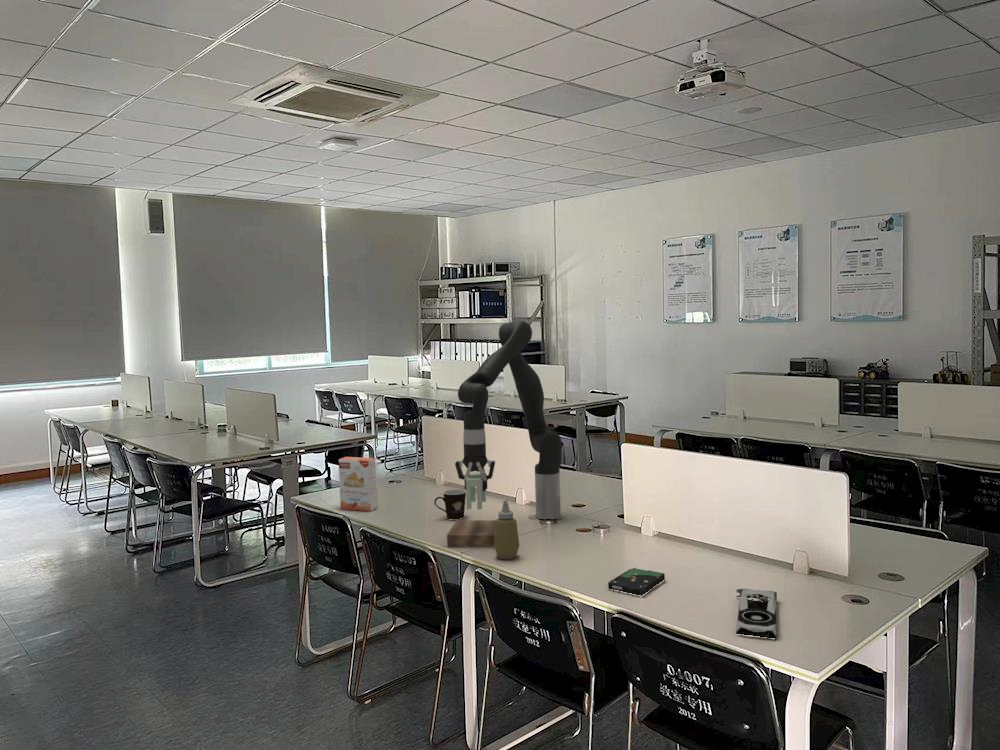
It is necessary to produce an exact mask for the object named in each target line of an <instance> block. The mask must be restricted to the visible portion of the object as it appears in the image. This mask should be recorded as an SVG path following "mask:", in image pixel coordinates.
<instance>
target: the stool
mask: <svg viewBox="0 0 1000 750" xmlns="http://www.w3.org/2000/svg"><path fill="white" fill-rule="evenodd" d="M465 491H466V497H465V502H466V510H472V503H474V502H475V503H476V505H477V506H476V507H477V508H476V509H477V510H482V509H483V503H485V502H486V501H487V493H486V491H483V477H482V476H481V474H480V472H477V471H473V472H470V475H469V477H467V479H466V490H465Z"/></svg>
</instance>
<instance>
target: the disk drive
mask: <svg viewBox="0 0 1000 750" xmlns="http://www.w3.org/2000/svg"><path fill="white" fill-rule="evenodd" d="M665 576H666V574H665V573H663V572H658V571H655V570H654V571H653V570H648V569H647V570H646V569H640V568H637V567H633V568H630V569H629V568H628V569H627V570H626V571H624V572H622V573H621V574H620V575H618V576H616V577H614V578H613V579H611V580H609V582H608V584H607V586H608V588H609V589H613V590H614V589H615V590H619V591H623V592H627V593H632V594H636V595H641V596H642V595H643V594H645V593H646V592H648V591H649V590H650V589H652V588H653V587H654V586H656V585H657V584H659V583H660V582H662V581H663V580H666V579H665V578H666V577H665ZM648 593H649V592H648Z"/></svg>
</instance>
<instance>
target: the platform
mask: <svg viewBox="0 0 1000 750" xmlns="http://www.w3.org/2000/svg"><path fill="white" fill-rule="evenodd" d="M496 520H497V519H496ZM496 520H493V519H492V520H490V519H489V520H488V519H487V520H486V519H485V520H481V519H479V520H478V519H474V520H464V519H461V520H454V523H453V525H452V526H451V528H450V529H449V531H448V533H447V535H446V543H447V544H446V547H447V548H494V542H495V527H496Z"/></svg>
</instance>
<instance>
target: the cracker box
mask: <svg viewBox="0 0 1000 750" xmlns="http://www.w3.org/2000/svg"><path fill="white" fill-rule="evenodd" d="M376 465H377V464H376V458H375V457H356V456H344V457H342V458H339V459H338V475H339V478H338V479H339V499H340V509H341V510H343V511H344V510H347V511H356V510H359V511H360V512H368V511H371V512H372V511H375V510H377V509H378V490H377V489H378V488H377V468H376V467H377V466H376ZM359 511H358V512H359Z"/></svg>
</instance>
